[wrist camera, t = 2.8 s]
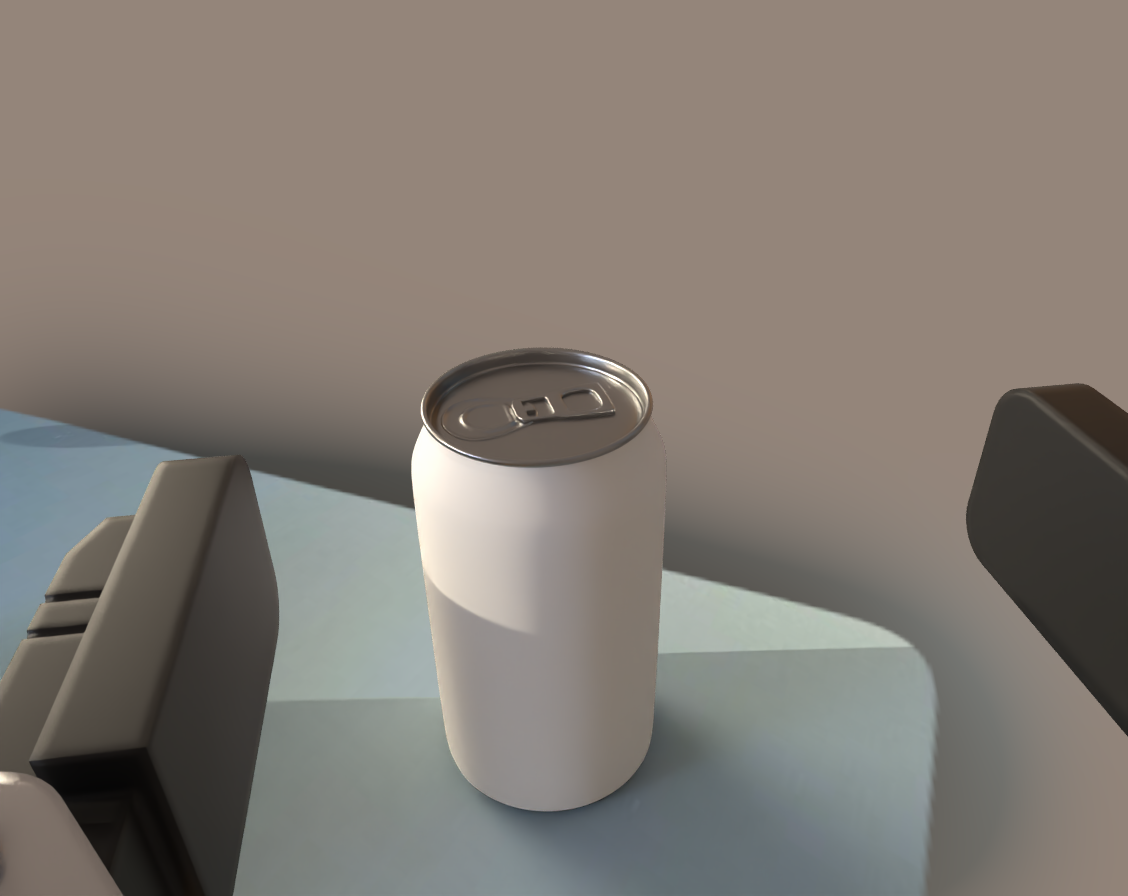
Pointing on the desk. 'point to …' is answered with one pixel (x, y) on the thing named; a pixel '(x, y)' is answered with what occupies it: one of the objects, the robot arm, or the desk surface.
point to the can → (543, 570)
